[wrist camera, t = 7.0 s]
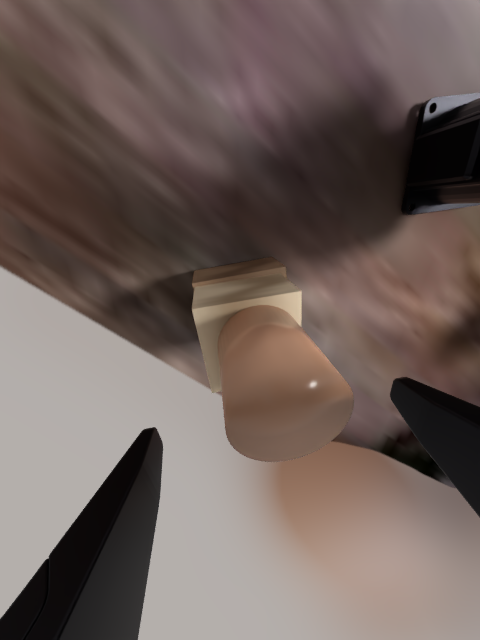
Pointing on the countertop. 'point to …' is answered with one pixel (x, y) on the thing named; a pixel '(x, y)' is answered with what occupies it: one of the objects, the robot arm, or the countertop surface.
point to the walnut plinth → (238, 271)
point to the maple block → (237, 310)
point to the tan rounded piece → (278, 387)
